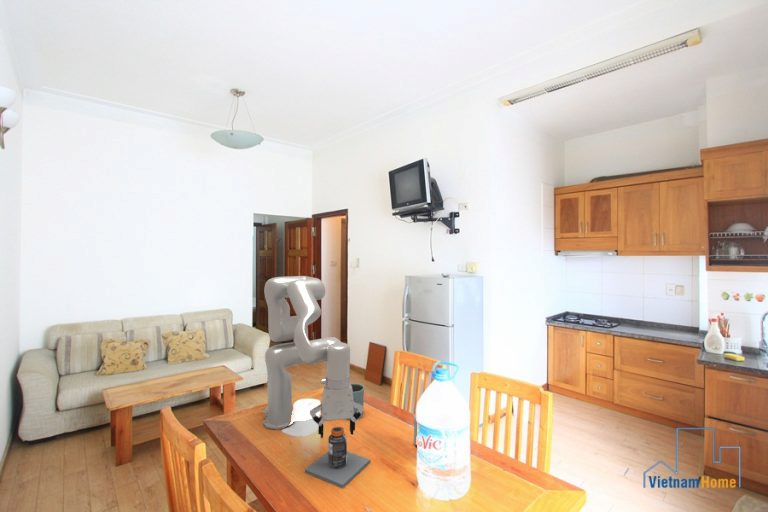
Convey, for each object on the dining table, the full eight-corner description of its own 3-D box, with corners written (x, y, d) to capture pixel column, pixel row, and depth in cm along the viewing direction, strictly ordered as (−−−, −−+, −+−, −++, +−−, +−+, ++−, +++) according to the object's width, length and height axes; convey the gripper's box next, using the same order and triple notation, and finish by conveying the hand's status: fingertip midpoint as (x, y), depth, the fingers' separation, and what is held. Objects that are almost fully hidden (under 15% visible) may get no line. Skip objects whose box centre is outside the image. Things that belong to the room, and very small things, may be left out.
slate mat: (304, 472, 112) (304, 469, 112) (334, 449, 125) (334, 446, 125) (342, 488, 104) (342, 484, 104) (370, 462, 117) (370, 459, 117)
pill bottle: (349, 460, 117) (349, 425, 117) (343, 470, 111) (343, 434, 111) (332, 457, 118) (332, 423, 118) (325, 467, 113) (325, 432, 113)
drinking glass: (363, 421, 146) (363, 392, 146) (338, 421, 147) (338, 391, 146) (364, 410, 157) (364, 383, 156) (342, 410, 157) (342, 383, 157)
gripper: (311, 388, 109) (310, 443, 109) (366, 384, 113) (365, 437, 114) (309, 379, 116) (308, 431, 117) (361, 375, 121) (360, 425, 121)
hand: (336, 434), depth 115 cm, fingers open, 9 cm apart
